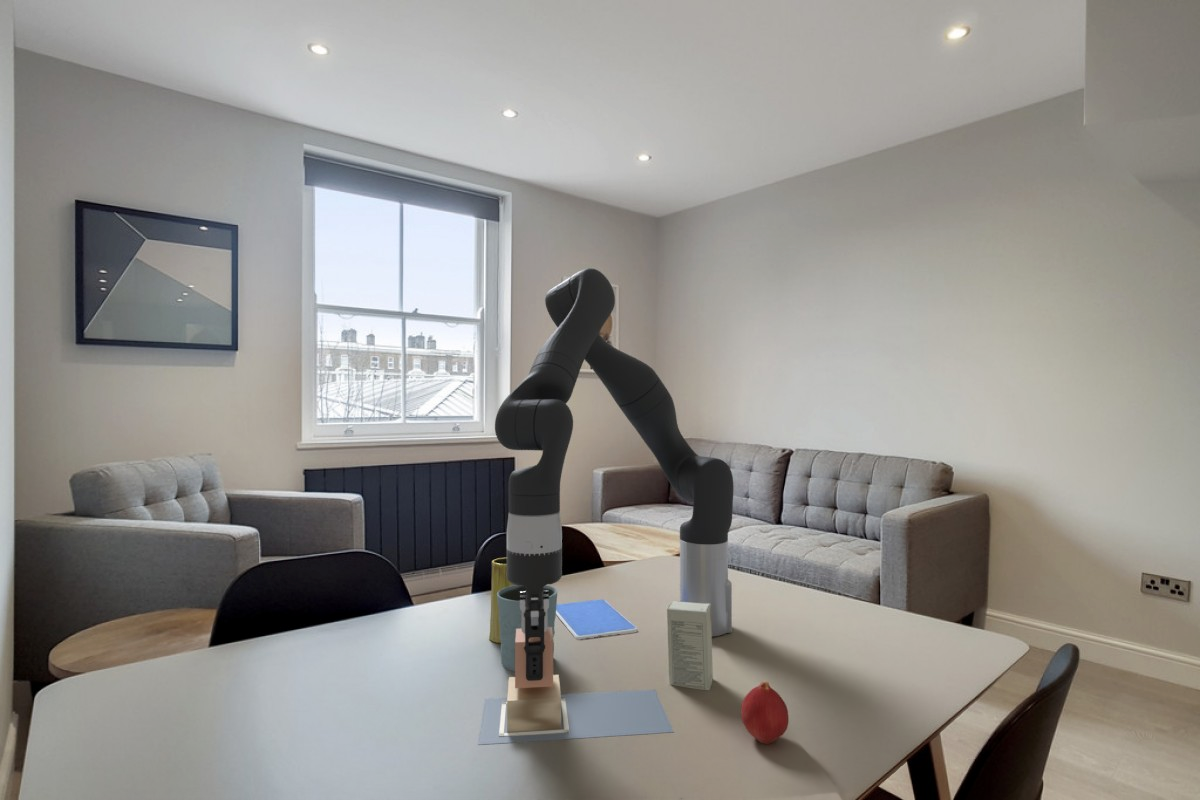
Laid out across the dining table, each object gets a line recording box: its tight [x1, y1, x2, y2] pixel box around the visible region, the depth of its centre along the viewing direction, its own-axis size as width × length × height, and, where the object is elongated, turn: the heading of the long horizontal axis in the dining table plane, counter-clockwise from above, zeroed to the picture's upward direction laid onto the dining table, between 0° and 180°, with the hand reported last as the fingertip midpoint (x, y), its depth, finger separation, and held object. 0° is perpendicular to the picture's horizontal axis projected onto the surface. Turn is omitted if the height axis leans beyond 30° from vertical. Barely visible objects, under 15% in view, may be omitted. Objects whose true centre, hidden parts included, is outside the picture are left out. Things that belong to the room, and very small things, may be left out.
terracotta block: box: [514, 627, 554, 688], centre depth 82 cm, size 5×5×6 cm
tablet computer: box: [556, 598, 639, 640], centre depth 121 cm, size 19×13×1 cm, turn 20°
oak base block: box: [506, 674, 562, 732], centre depth 81 cm, size 7×7×4 cm
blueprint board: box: [477, 688, 675, 746], centre depth 82 cm, size 25×12×1 cm, turn 97°
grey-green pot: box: [497, 584, 558, 672], centre depth 100 cm, size 10×10×12 cm
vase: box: [488, 556, 515, 644], centre depth 112 cm, size 6×6×14 cm
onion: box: [740, 680, 789, 745], centre depth 76 cm, size 6×6×8 cm
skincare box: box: [666, 600, 714, 691], centre depth 92 cm, size 6×4×12 cm
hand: (534, 669), depth 82 cm, fingers closed on terracotta block, 4 cm apart
